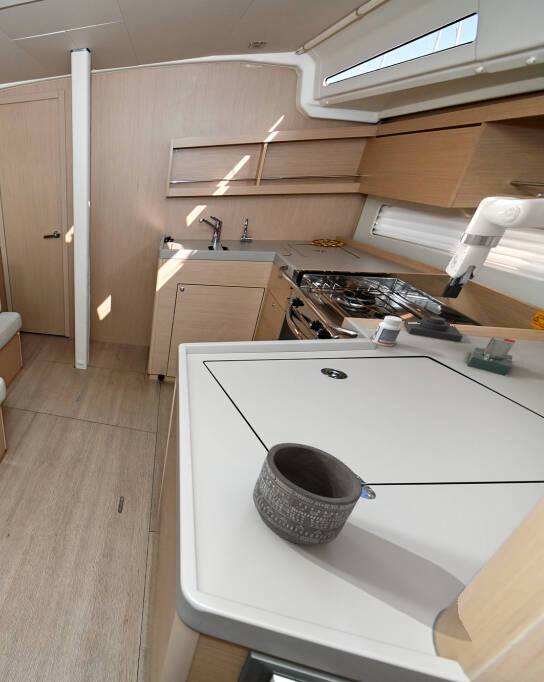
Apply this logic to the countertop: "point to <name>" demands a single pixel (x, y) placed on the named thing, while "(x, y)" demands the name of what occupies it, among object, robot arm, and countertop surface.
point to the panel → (489, 362)
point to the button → (436, 320)
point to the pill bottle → (387, 331)
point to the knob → (498, 347)
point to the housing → (433, 330)
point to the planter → (305, 493)
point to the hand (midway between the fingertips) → (448, 297)
